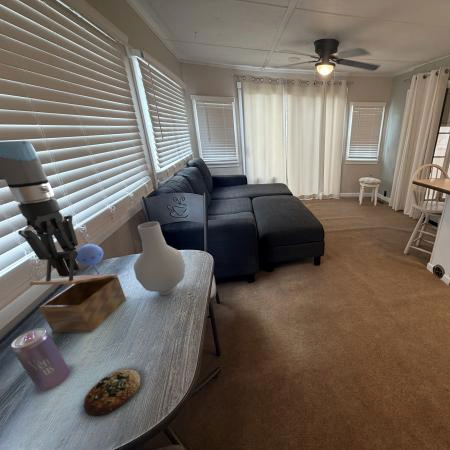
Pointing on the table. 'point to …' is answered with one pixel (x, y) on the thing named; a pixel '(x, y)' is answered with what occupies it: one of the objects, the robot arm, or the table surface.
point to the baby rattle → (90, 255)
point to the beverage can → (40, 358)
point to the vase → (158, 261)
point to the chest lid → (71, 278)
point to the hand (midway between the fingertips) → (69, 272)
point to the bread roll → (111, 392)
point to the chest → (83, 305)
